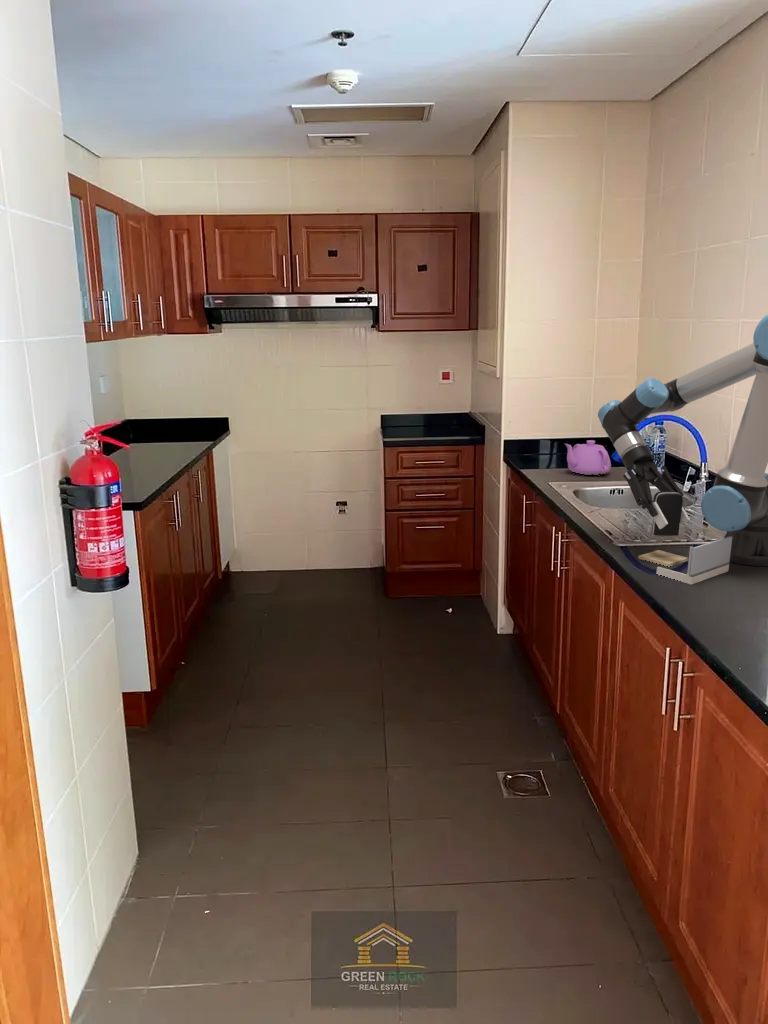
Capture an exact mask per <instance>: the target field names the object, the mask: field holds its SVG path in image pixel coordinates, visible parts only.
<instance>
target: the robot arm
mask: <svg viewBox="0 0 768 1024" xmlns="http://www.w3.org/2000/svg"><path fill="white" fill-rule="evenodd" d="M754 329H755V330H754V333H753V339H752V340H753V343H751V344H749V345H746V346H744V347H742V348H740V349H738V350H736V351H734V352H731V353H729V354H727V355H725V356H722V357H720V358H718V359H716V360H714V361H712V362H709V363H707V364H705V365H703V366H701V367H699V368H696V369H695V370H692V371H690V372H688V373H686V374H684V375H681V376H679V377H677V378H674V379H672V380H671V381H668V382H666V383H663V382H662V381H660V379H656V378H655V377H649V378H647V379H646V380H644V381H643V382H642V383H639V384H638V386H637V387H636V388H635V389H634V390H633V391H631V393H630V394H629V395H628V396H626V397H625V398H624V399H623V400H621V401H620V400H619V399H618V400H617V399H616V400H615V399H614V400H611V401H608V402H607V403H606V404H603V405H602V406H601V407H600V408H599V410H598V412H597V418H598V420H599V422H600V424H601V427H602V428H603V430H604V431H605V433H606V436H608V438H609V439H610V442H611V443H612V445H613V447H614V448H615V451H616V452H617V454H618V456H619V457H620V459H621V461H622V464H623V466H624V467H625V469H626V470H627V471H626V472H625V473H624V474H623V475H622V476H623V478H624V479H625V481H626V482H627V484H628V486H629V488H630V491H631V493H632V495H633V498H634V500H635V502H636V504H637V506H639V507H641V508H642V509H643V510H647V512H648V513H649V515H650V516H651V517H652V519H653V518H654V520H655V522H656V524H657V526H658V527H659V529H662V528H663V527H665V526H666V525H667V524H668V522H667V520H666V519H665V517H664V515H663V513H662V511H661V510H660V508H659V506H658V504H657V503H656V502H654V503H653V496H652V491H651V486H654V487H656V488H657V490H658V491H659V492H676V493H679V494H681V496H682V497H684V493H683V492H682V490H681V489H680V487H679V486H678V484H677V483H676V481H674V479H673V477H672V476H671V474H670V473H669V471H668V469H667V467H666V466H665V465H662V466H661V467H658V466H657V465H656V464H655V463H654V462H653V461H654V456H653V453H652V452H651V449H650V448H649V446H647V444H646V443H647V442H646V441H645V440H644V438H643V437H642V435H641V433H640V431H639V429H638V427H637V426H638V425H640V424H641V422H642V421H644V420H645V419H646V418H647V417H649V416H650V415H652V414H659V413H666V412H675V411H678V410H681V409H683V408H684V407H685V406H686V405H688V404H690V403H692V402H695V401H697V400H699V399H702V398H704V397H706V396H707V397H708V396H709V395H712V394H714V393H716V392H718V391H721V390H723V389H725V388H728V387H730V386H732V385H734V384H737V383H740V382H742V381H744V380H747V379H748V378H751V377H753V376H755V377H754V380H753V383H752V386H751V389H750V391H749V396H748V399H747V401H746V404H745V407H744V411H743V414H742V417H741V421H740V424H739V427H738V430H737V432H736V436H735V439H734V442H733V444H732V448H731V451H730V454H729V458H728V460H727V465H725V466H723V468H720V469H719V470H717V474H716V477H715V478H714V479H715V480H714V483H713V486H712V487H710V488H709V489H708V490H707V491H706V492H705V493H704V494H703V495H702V497H701V502H700V509H701V514H702V516H703V517H704V519H705V521H706V522H707V523H708V524H709V525H710V526H711V527H713V528H714V529H716V530H719V531H722V532H725V534H724V536H723V538H726V537H729V536H731V537H732V544H731V552H730V561H729V563H730V562H731V563H735V564H739V565H743V566H744V565H745V566H753V567H768V472H767V473H766V470H767V467H768V313H767V314H765V315H764V317H762V318H761V319H760V320H759V322H758V323H757V325H756V327H755V328H754ZM650 484H651V486H650ZM690 521H691V519H690V517H689V515H688V513H687V512H686V509H685V507H684V505H683V504H682V513H681V519H680V525H681V527H682V526H685V525H686V524H687V523H688V522H690Z"/></svg>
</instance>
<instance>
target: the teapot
mask: <svg viewBox="0 0 768 1024" xmlns="http://www.w3.org/2000/svg"><path fill="white" fill-rule="evenodd" d="M595 443H596V440H593V439H591V440H586V443H581V444H580V443H576V444H575V445H574V446H572V445H571V444H568V443H566V442H565V443H564V446H566V448H567V455H566V461H567V468H568V469H569V471H570V470H571V471H572V472H576V473H580V474H598V473H606V472H607V473H608V472H610V470H611V468H612V464H611V463H612V462H611V459H610V455H609V453H608V451H607V450H606V448H605V446H604V445H601V444H595ZM571 471H570V472H571ZM572 472H571V473H572ZM607 473H606V474H607Z"/></svg>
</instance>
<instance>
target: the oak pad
mask: <svg viewBox="0 0 768 1024" xmlns="http://www.w3.org/2000/svg"><path fill="white" fill-rule="evenodd" d="M638 560H642V561H645V560H646V561H645V562H649V561H650V563H652V562H653V564H656V563H657V564H656V565H659V564H661V565H660V566H663V565H664V567H667V566H668V567H667V568H670V566H671V567H674V566H676V564H677V565H680V564H683V563H685V562H689V556H688V557H687V556H683V555H679V554H675V553H673V552H672V553H671V552H667V551H664V550H659V549H656V550H653V551H651V552H647V553H643V554H640V555H638ZM673 565H674V566H673Z"/></svg>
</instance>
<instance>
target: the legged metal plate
mask: <svg viewBox="0 0 768 1024" xmlns="http://www.w3.org/2000/svg"><path fill="white" fill-rule="evenodd" d="M731 544H732V537H731V536H729V537H726V538H724V537H723V538H720V539H717V540H713V541H711V542H710V541H709V542H706V543H704V544H701V545H697V546H694V547H693V546H690V547H689V554H688V558H689V560H688V561H687V563H688V564H687V572H686V573H682V572H680V571H675V570H672V569H667V568H665V567H661V566H657V567H656V573H655V574H658V575H657V576H660V575H662V576H661V577H663V576H665V577H664V578H666V577H668V578H667V579H670V578H671V579H670V580H673V579H675V580H674V581H677V580H678V581H677V582H680V581H681V583H684V584H687V585H691V586H692V585H694V584H697V583H700V582H703V581H705V580H709V579H711V578H713V577H716V576H718V575H719V576H720V575H722V574H724V573H727V572H729V569H730V552H731Z"/></svg>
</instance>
